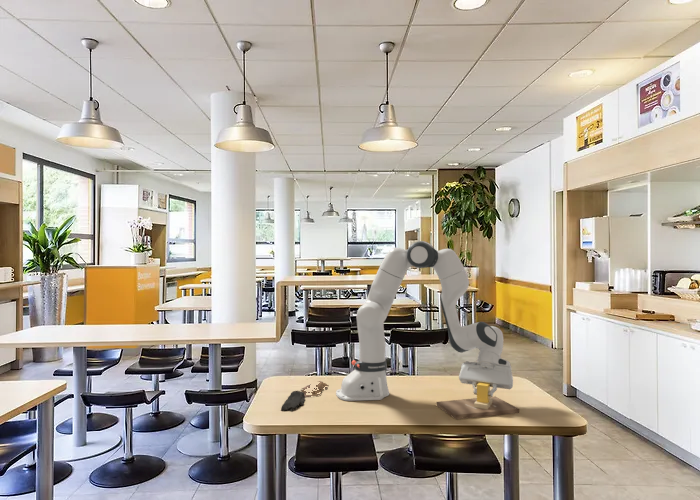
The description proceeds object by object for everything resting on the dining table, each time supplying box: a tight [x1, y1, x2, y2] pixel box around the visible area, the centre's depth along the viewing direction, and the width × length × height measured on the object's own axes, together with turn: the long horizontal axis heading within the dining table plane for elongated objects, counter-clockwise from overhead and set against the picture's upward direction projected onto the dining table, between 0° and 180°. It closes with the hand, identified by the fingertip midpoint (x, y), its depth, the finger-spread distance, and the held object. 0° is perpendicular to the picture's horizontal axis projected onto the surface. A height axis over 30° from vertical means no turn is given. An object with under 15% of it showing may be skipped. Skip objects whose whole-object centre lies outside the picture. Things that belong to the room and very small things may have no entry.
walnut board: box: [435, 395, 520, 420], centre depth 188 cm, size 26×16×2 cm, turn 106°
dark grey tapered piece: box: [280, 390, 306, 412], centre depth 197 cm, size 22×7×3 cm, turn 174°
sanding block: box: [474, 382, 493, 409], centre depth 188 cm, size 9×5×8 cm, turn 153°
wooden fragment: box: [301, 380, 329, 398], centre depth 216 cm, size 26×11×1 cm, turn 167°
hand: (482, 394), depth 187 cm, fingers closed on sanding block, 4 cm apart
